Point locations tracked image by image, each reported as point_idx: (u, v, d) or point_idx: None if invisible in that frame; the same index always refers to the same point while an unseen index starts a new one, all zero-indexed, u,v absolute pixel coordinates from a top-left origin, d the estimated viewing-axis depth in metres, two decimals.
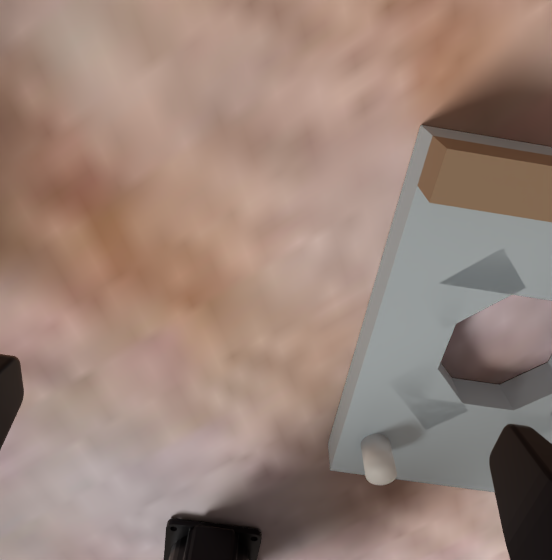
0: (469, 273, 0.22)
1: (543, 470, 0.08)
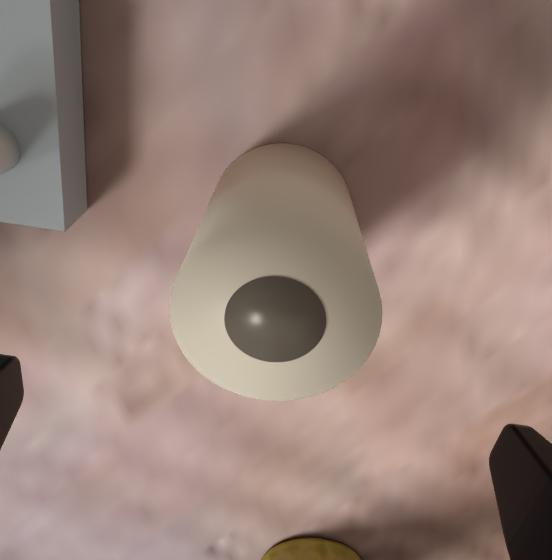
0: None
1: (543, 470, 0.08)
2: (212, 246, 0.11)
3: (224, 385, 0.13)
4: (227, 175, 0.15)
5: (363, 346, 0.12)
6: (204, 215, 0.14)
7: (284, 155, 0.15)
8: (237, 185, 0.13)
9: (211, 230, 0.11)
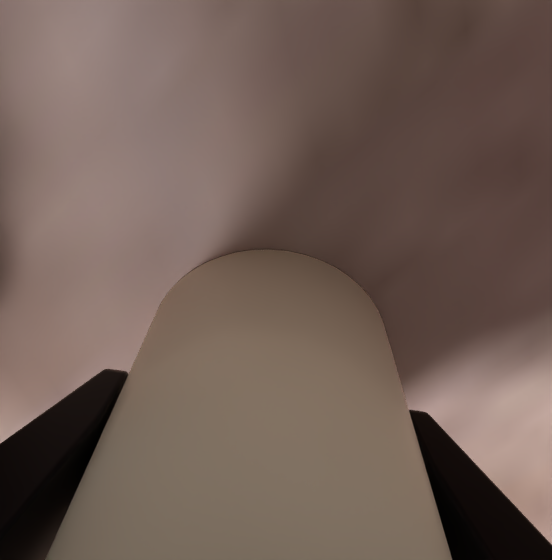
0: None
1: (424, 454, 0.08)
2: None
3: None
4: (162, 323, 0.08)
5: None
6: (97, 446, 0.06)
7: (270, 292, 0.08)
8: (162, 396, 0.06)
9: None
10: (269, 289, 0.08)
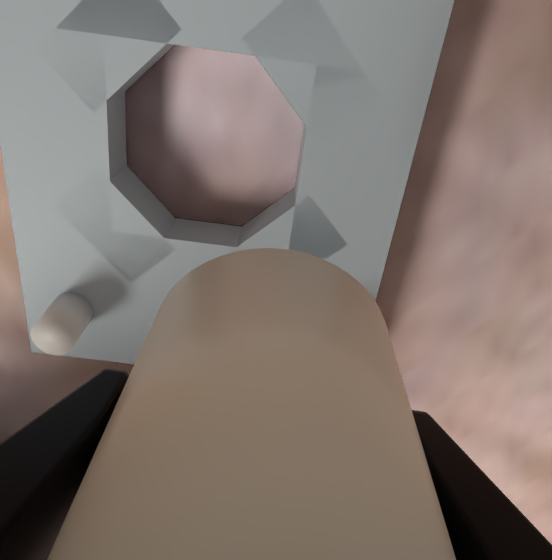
0: (93, 7, 0.15)
1: None
2: None
3: None
4: (164, 321, 0.08)
5: None
6: (99, 445, 0.06)
7: (272, 290, 0.08)
8: (165, 395, 0.06)
9: None
10: (271, 287, 0.08)
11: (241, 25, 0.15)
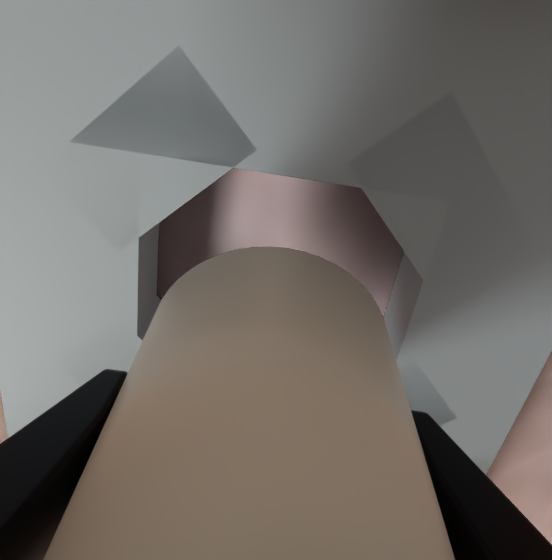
0: (126, 115, 0.10)
1: (424, 454, 0.08)
2: None
3: None
4: (162, 320, 0.08)
5: None
6: (96, 444, 0.06)
7: (270, 289, 0.08)
8: (162, 393, 0.06)
9: None
10: (269, 286, 0.08)
11: (346, 148, 0.10)
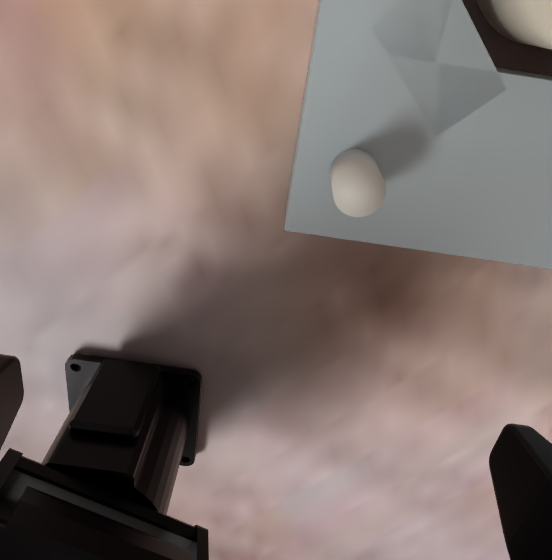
0: None
1: (543, 470, 0.08)
2: None
3: None
4: None
5: None
6: None
7: None
8: None
9: None
10: None
11: None
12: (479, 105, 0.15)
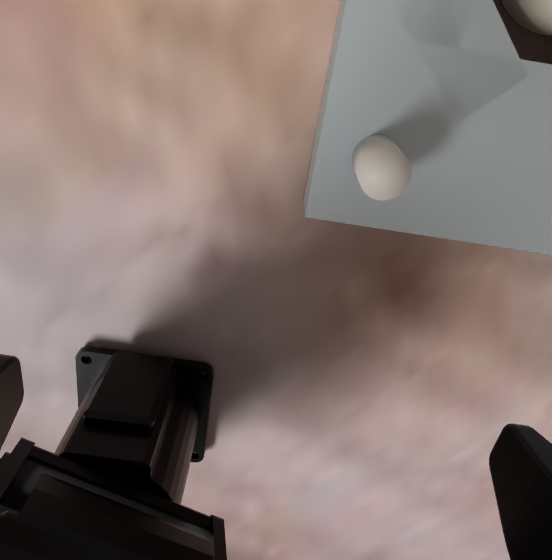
0: None
1: (543, 470, 0.08)
2: None
3: None
4: None
5: None
6: None
7: None
8: None
9: None
10: None
11: None
12: (501, 92, 0.16)
